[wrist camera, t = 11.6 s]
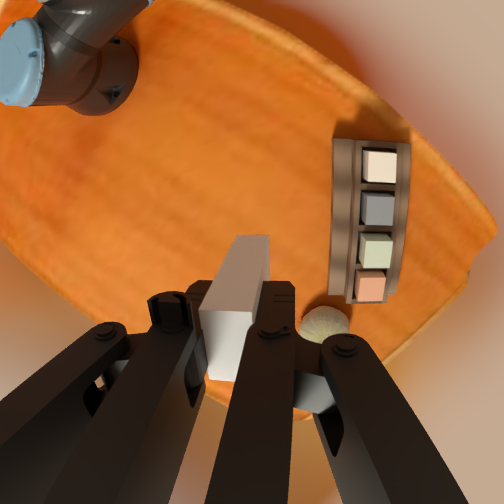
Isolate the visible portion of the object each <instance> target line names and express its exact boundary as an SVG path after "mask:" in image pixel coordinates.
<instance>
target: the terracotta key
mask: <svg viewBox="0 0 504 504" xmlns="http://www.w3.org/2000/svg"><path fill="white" fill-rule="evenodd" d="M385 281H386V277H385V275H384V273H383V272H382V270H381V269H356V276H355V285H354V292H355V295H356V298H357V301H382V299H383V293H384V287H385Z"/></svg>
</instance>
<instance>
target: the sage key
mask: <svg viewBox="0 0 504 504" xmlns="http://www.w3.org/2000/svg"><path fill="white" fill-rule="evenodd" d="M392 246H393V241H392V240H391V239H390V237H389V236H388V235H387V234H381V233H361V238H360V250H359V260H360V262H361V264H362V266H363V268H390V261H391V254H392Z"/></svg>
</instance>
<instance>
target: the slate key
mask: <svg viewBox="0 0 504 504" xmlns="http://www.w3.org/2000/svg"><path fill="white" fill-rule="evenodd" d="M394 201H395V197H393V196H392V195H390V194H389V193H386V192H364V191H362V198H361V217H360V218H361V220H362V221H363V222H364V223H365V225H390V226H392V225H393V213H394Z"/></svg>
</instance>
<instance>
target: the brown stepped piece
mask: <svg viewBox="0 0 504 504" xmlns="http://www.w3.org/2000/svg"><path fill="white" fill-rule="evenodd" d="M363 150H368V151H383V152H391V153H396V154H397V160H396V183H388V182H368V181H366V180H365V179H363V178H362V168H363ZM410 160H411V144H409V143H399V142H388V141H376V140H360V139H340V138H332V196H331V227H330V249H329V266H328V280H327V291H328V295H344V298H345V301H346V304H366V303H386V302H387V297H388V295H390V294H396V291H397V285H398V279H399V273H400V267H401V260H402V253H403V246H404V238H405V229H406V220H407V209H408V197H409V182H410ZM362 191H364V192H386V193H389V194H390V195H392V196H393V197H395V201H394V213H393V225H392V226H390V225H365V223H364V222H363V221H362V220H361V218H360V217H361V198H362ZM361 233H381V234H387V235H388V236H389V237H390V239H391V240H392V241H393V246H392V254H391V261H390V268H363V266H362V264H361V262H360V260H359V250H360V238H361ZM356 269H381V270H382V272H383V273H384V275H385V277H386V281H385V287H384V293H383V299H382V301H357V298H356V295H355V292H354V285H355V276H356Z"/></svg>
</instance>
